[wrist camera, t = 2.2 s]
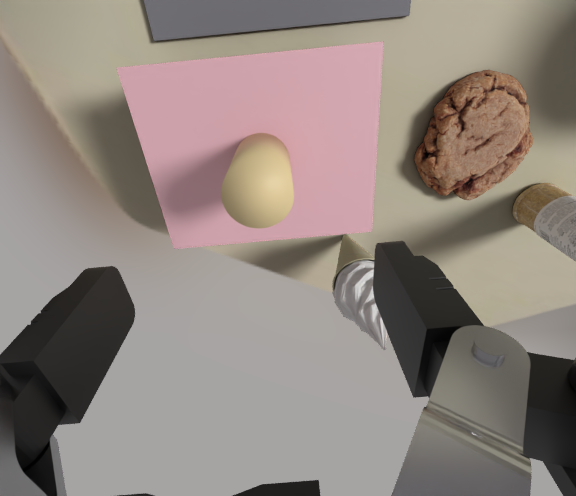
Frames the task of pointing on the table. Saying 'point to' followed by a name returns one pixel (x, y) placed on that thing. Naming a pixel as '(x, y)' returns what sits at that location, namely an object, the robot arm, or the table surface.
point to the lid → (261, 142)
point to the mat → (259, 15)
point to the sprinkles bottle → (549, 215)
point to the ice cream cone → (358, 289)
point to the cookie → (475, 135)
